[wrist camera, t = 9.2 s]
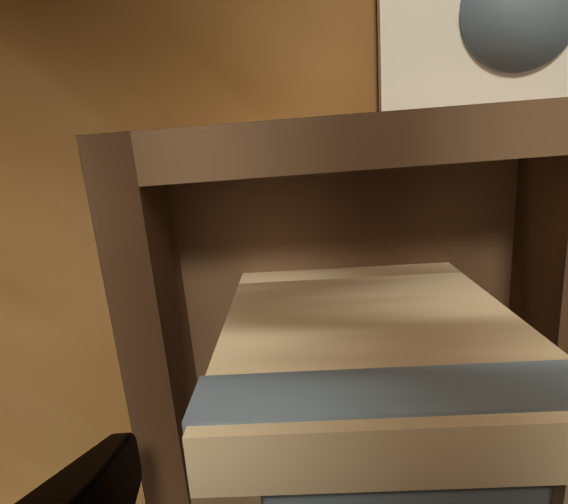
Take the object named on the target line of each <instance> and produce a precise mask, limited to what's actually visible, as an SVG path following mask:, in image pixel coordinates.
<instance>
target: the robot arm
mask: <svg viewBox="0 0 568 504" xmlns="http://www.w3.org/2000/svg"><path fill="white" fill-rule="evenodd" d="M141 479H142V466H141V461H140V455H139V450H138V445H137V440H136V437H135V435H134V434H133V433H115V434H111V435H110V436H108V437H107V438H105V439H104V440H103V441H101V442H100V443H99V444H97V445H96V446H94V447H93V448H92V449H90V450H89V451H87V452H86V453H85V454H83V455H82V456H80V457H79V458H78V459H76V460H75V461H73V462H72V463H71V464H69V465H68V466H66V467H65V468H64V469H62V470H61V471H59V472H58V473H57V474H55V475H54V476H52V477H51V478H50V479H48V480H47V481H45V482H44V483H43V484H41V485H40V486H38V487H37V488H36V489H34V490H33V491H31V492H30V493H29V494H27V495H26V496H24V497H23V498H22V499H20V500H19V501H17V502H16V503H15V504H135V503H136V499H137V495H138V491H139V487H140V484H141Z"/></svg>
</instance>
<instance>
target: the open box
mask: <svg viewBox="0 0 568 504" xmlns="http://www.w3.org/2000/svg"><path fill="white" fill-rule="evenodd" d="M76 139H77V145H78V150H79V155H80V160H81V166H82V171H83V176H84V181H85V187H86V192H87V197H88V202H89V208H90V213H91V218H92V223H93V229H94V234H95V239H96V244H97V250H98V255H99V260H100V265H101V271H102V276H103V281H104V286H105V292H106V297H107V302H108V307H109V313H110V318H111V323H112V328H113V334H114V339H115V344H116V350H117V355H118V360H119V365H120V371H121V376H122V381H123V386H124V392H125V397H126V402H127V407H128V413H129V418H130V423H131V428H132V433H133V434H134V435H135V437H136V440H137V445H138V450H139V455H140V461H141V466H142V479H141V481H142V486H143V491H144V497H145V502H146V504H191V499H190V492H189V484H188V477H187V470H186V463H185V456H184V449H183V441H182V437H183V430H182V420H183V418H184V415H185V413H186V410H187V408H188V405H189V402H190V400H191V397H192V395H193V392H194V390H195V387H196V384H197V382H198V379H199V377H200V376H205V375H206V372H207V369H208V366H209V364H210V361H211V358H212V355H213V353H214V350H215V347H216V345H217V342H218V339H219V336H220V334H221V331H222V328H223V326H224V323H225V320H226V317H227V315H228V312H229V309H230V306H231V304H232V301H233V298H234V296H235V293H236V290H237V287H238V285H239V282H240V279H241V277H242V274H243V273H254V272H273V271H292V270H312V269H331V268H350V267H369V266H388V265H407V264H427V263H446V262H449V263H450V264H451V265H453V266H454V267H455V268H457V269H458V270H459V271H460V272H462V273H463V274H464V275H466V276H467V277H468V278H470V279H471V280H472V281H473V282H475V283H476V284H477V285H479V286H480V287H481V288H482V289H484V290H485V291H486V292H488V293H489V294H490V295H491V296H493V297H494V298H495V299H497V300H498V301H499V302H500V303H502V304H503V305H504V306H506V307H507V308H508V309H510V310H511V311H512V312H513V313H515V314H516V315H517V316H519V317H520V318H521V319H522V320H524V321H525V322H526V323H528V324H529V325H530V326H531V327H533V328H534V329H535V330H537V331H538V332H539V333H540V334H542V335H543V336H544V337H546V338H547V339H548V340H549V341H551V342H552V343H553V344H555V345H556V346H557V347H559V348H560V349H561V350H562V351H564V352H565V353H566V354H568V97H559V98H546V99H534V100H521V101H508V102H496V103H483V104H470V105H457V106H445V107H432V108H419V109H407V110H394V111H381V112H368V113H356V114H343V115H330V116H317V117H305V118H292V119H279V120H267V121H254V122H241V123H228V124H216V125H203V126H190V127H178V128H165V129H152V130H139V131H127V132H114V133H101V134H89V135H76Z"/></svg>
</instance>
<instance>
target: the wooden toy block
mask: <svg viewBox="0 0 568 504" xmlns="http://www.w3.org/2000/svg"><path fill="white" fill-rule="evenodd" d="M182 430H183V437H182V441H183V449H184V456H185V463H186V470H187V477H188V484H189V492H190V499H191V504H568V354H566V353H565V352H564V351H562V350H561V349H560V348H559V347H557V346H556V345H555V344H553V343H552V342H551V341H549V340H548V339H547V338H546V337H544V336H543V335H542V334H540V333H539V332H538V331H537V330H535V329H534V328H533V327H531V326H530V325H529V324H528V323H526V322H525V321H524V320H522V319H521V318H520V317H519V316H517V315H516V314H515V313H513V312H512V311H511V310H510V309H508V308H507V307H506V306H504V305H503V304H502V303H500V302H499V301H498V300H497V299H495V298H494V297H493V296H491V295H490V294H489V293H488V292H486V291H485V290H484V289H482V288H481V287H480V286H479V285H477V284H476V283H475V282H473V281H472V280H471V279H470V278H468V277H467V276H466V275H464V274H463V273H462V272H460V271H459V270H458V269H457V268H455V267H454V266H453V265H451V264H450V263H449V262H446V263H427V264H407V265H388V266H369V267H350V268H331V269H312V270H292V271H273V272H254V273H243V274H242V277H241V279H240V282H239V285H238V287H237V290H236V293H235V296H234V298H233V301H232V304H231V306H230V309H229V312H228V315H227V317H226V320H225V323H224V326H223V328H222V331H221V334H220V336H219V339H218V342H217V345H216V347H215V350H214V353H213V355H212V358H211V361H210V364H209V366H208V369H207V372H206V375H205V376H200V377H199V379H198V382H197V384H196V387H195V390H194V392H193V395H192V397H191V400H190V402H189V405H188V408H187V410H186V413H185V415H184V418H183V420H182Z"/></svg>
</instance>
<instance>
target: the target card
mask: <svg viewBox="0 0 568 504" xmlns="http://www.w3.org/2000/svg"><path fill="white" fill-rule="evenodd" d="M377 29H378V86H379V112H381V111H394V110H407V109H419V108H432V107H445V106H457V105H470V104H483V103H496V102H508V101H521V100H534V99H546V98H559V97H568V0H377Z"/></svg>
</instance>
